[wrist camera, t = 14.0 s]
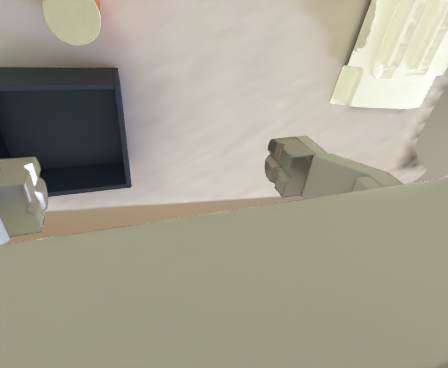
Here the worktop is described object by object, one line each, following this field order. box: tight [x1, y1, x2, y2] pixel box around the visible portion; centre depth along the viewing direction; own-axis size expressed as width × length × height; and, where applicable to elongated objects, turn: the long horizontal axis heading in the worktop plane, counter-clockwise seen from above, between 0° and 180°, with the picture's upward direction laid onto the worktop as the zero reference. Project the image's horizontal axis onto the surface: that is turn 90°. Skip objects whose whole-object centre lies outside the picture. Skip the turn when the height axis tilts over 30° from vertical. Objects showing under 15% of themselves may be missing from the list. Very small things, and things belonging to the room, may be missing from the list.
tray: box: [330, 0, 448, 109], centre depth 43 cm, size 20×28×4 cm
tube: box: [43, 0, 101, 46], centre depth 27 cm, size 4×4×10 cm
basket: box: [0, 67, 132, 197], centre depth 35 cm, size 14×13×6 cm
